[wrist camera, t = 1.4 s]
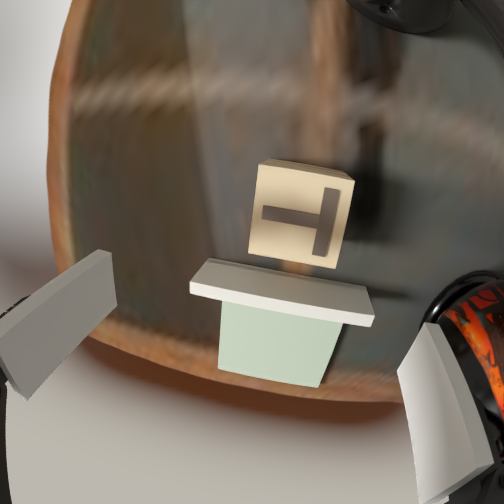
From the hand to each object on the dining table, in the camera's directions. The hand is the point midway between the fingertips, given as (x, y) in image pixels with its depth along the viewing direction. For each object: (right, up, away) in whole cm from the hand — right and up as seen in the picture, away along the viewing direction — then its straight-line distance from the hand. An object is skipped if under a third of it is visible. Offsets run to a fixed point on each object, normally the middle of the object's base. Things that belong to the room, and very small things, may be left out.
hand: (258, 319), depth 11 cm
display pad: (+3, -10, +29) cm, 30 cm away
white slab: (+4, -1, +24) cm, 25 cm away
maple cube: (+5, +8, +20) cm, 23 cm away
